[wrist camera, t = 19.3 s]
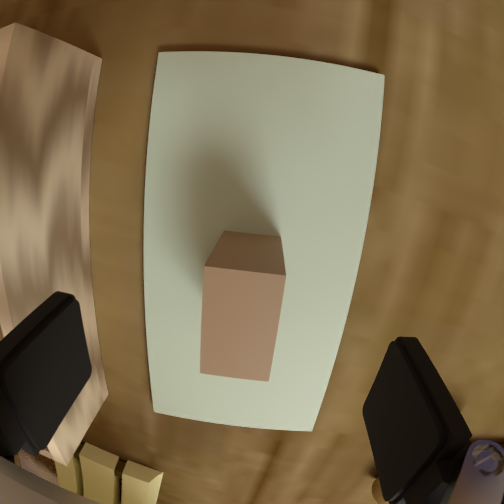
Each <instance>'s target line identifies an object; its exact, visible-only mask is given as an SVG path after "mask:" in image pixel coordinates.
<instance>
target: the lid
mask: <svg viewBox="0 0 504 504" xmlns="http://www.w3.org/2000/svg"><path fill="white" fill-rule="evenodd" d="M384 77H385V75H382V74H378V73H374V72H369V71H365V70H361V69H356V68H352V67H347V66H342V65H337V64H331V63H326V62H320V61H314V60H307V59H300V58H293V57H285V56H276V55H266V54H254V53H239V52H215V51H179V52H159V55H158V61H157V68H156V75H155V82H154V90H153V98H152V106H151V115H150V125H149V136H148V148H147V162H146V178H145V200H144V297H145V319H146V336H147V350H148V362H149V372H150V382H151V391H152V400H153V408H154V412H157V413H162V414H166V415H171V416H176V417H182V418H187V419H193V420H199V421H205V422H212V423H219V424H226V425H234V426H243V427H252V428H263V429H276V430H293V431H312V429H313V427H314V424H315V421H316V418H317V415H318V412H319V409H320V406H321V403H322V400H323V397H324V394H325V391H326V388H327V385H328V382H329V378H330V375H331V372H332V368H333V365H334V362H335V358H336V355H337V351H338V348H339V344H340V341H341V337H342V333H343V329H344V326H345V322H346V318H347V314H348V310H349V306H350V302H351V298H352V294H353V289H354V285H355V281H356V276H357V272H358V267H359V262H360V257H361V252H362V248H363V242H364V237H365V232H366V226H367V221H368V215H369V209H370V203H371V197H372V191H373V184H374V177H375V170H376V162H377V154H378V146H379V137H380V128H381V117H382V106H383V93H384Z"/></svg>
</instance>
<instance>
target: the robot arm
mask: <svg viewBox="0 0 504 504" xmlns="http://www.w3.org/2000/svg"><path fill="white" fill-rule="evenodd" d="M91 373H92V365H91V361H90V357H89V352H88V347H87V342H86V337H85V332H84V327H83V321H82V315H81V309H80V304H79V301H78V300H76V298H75V296H74V295H73V294H69V293H65V292H61V291H56V292H54V293H53V294H52V295H51V296H50V297H49V298H47V299H46V300H45V301H44V302H43V303H42V304H40V305H39V306H38V307H37V308H36V309H35V310H34V311H32V312H31V313H30V314H29V315H28V316H27V317H26V318H25V319H23V320H22V321H21V322H20V323H19V324H18V325H17V326H16V327H15V328H14V329H13V330H11V331H10V332H9V333H8V334H7V335H6V336H5V337H4V338H3V339H2V340H1V341H0V504H102V503H99V502H96V501H93V500H91V499H88V498H86V497H83V496H80V495H78V494H76V493H73V492H71V491H68V490H66V489H64V488H61V487H59V486H57V485H55V484H53V483H51V482H48V481H46V480H44V479H42V478H40V477H38V476H36V475H34V474H32V473H30V472H29V471H27V470H25V469H23V468H22V467H21V463H20V458H19V453H18V452H19V451H20V449H21V447H22V449H23V450H24V451H26V452H28V453H30V454H32V455H34V456H36V457H37V455H38V454H39V452H40V450H44V449H45V448H46V447H47V446H48V444H49V442H50V441H51V439H52V437H53V436H54V434H55V432H56V431H57V429H58V427H59V426H60V424H61V422H62V421H63V419H64V418H65V416H66V414H67V413H68V411H69V409H70V408H71V406H72V405H73V403H74V402H75V400H76V398H77V397H78V395H79V394H80V392H81V391H82V389H83V388H84V386H85V384H86V383H87V381H88V380H89V378H90V376H91ZM363 417H364V421H365V425H366V428H367V432H368V436H369V440H370V444H371V448H372V452H373V456H374V460H375V464H376V469H377V473H378V477H379V481H380V486H381V490H382V495H383V498H384V500H385V501H386V502H388V501H389V504H504V449H503V448H502V447H501V446H500V445H499V444H497V443H496V442H494V441H491V440H487V439H486V440H478V441H475V442H474V443H473V444H471V442H470V440H469V439H470V437H471V436H472V434H471V432H470V430H469V428H468V426H467V424H466V422H465V420H464V418H463V416H462V415H461V413H460V411H459V409H458V407H457V405H456V403H455V402H454V400H453V398H452V396H451V394H450V393H449V391H448V389H447V387H446V386H445V384H444V382H443V380H442V379H441V377H440V375H439V373H438V372H437V370H436V368H435V367H434V365H433V363H432V362H431V360H430V358H429V357H428V355H427V353H426V352H425V350H424V348H423V347H422V345H421V344H420V342H419V340H418V339H417V338H415V337H397V339H396V340H395V341H392V342H391V343H390V345H389V347H388V349H387V352H386V354H385V357H384V359H383V362H382V364H381V367H380V369H379V371H378V374H377V376H376V378H375V381H374V383H373V385H372V387H371V390H370V392H369V394H368V396H367V398H366V401H365V403H364V405H363Z"/></svg>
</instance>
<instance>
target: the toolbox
mask: <svg viewBox="0 0 504 504" xmlns="http://www.w3.org/2000/svg"><path fill="white" fill-rule="evenodd" d="M101 64H102V59H101V58H99V57H97V56H95V55H93V54H91V53H89V52H86V51H84V50H82V49H80V48H78V47H75V46H73V45H71V44H68V43H66V42H64V41H62V40H59V39H57V38H54V37H52V36H50V35H47V34H45V33H42V32H40V31H37V30H35V29H32V28H29V27H27V26H24V25H21V24H19V23H16V22H15V23H13V24H10V25H8V26H5V27H3V28H1V29H0V341H1V340H2V339H3V338H4V337H5V336H6V335H7V334H8V333H9V332H10V331H11V330H13V329H14V328H15V327H16V326H17V325H18V324H19V323H20V322H21V321H22V320H23V319H25V318H26V317H27V316H28V315H29V314H30V313H31V312H32V311H34V310H35V309H36V308H37V307H38V306H39V305H40V304H42V303H43V302H44V301H45V300H46V299H47V298H49V297H50V296H51V295H52V294H53V293H54V292H56V291H61V292H65V293H69V294H73V295H74V296H75V298H76V300H78V301H79V304H80V309H81V315H82V321H83V327H84V332H85V337H86V342H87V347H88V352H89V357H90V361H91V365H92V373H91V376H90V378H89V380H88V381H87V383H86V384H85V386H84V388H83V389H82V391H81V392H80V394H79V395H78V397H77V398H76V400H75V402H74V403H73V405H72V406H71V408H70V409H69V411H68V413H67V414H66V416H65V418H64V419H63V421H62V422H61V424H60V426H59V427H58V429H57V431H56V432H55V434H54V436H53V437H52V439H51V441H50V442H49V444H48V446H47V447H46V448H45V449H44V450H40V452H39V454H41V455H44V456H46V457H48V458H50V459H52V460H54V461H56V462H59V463H61V464H63V465H66V466H67V465H68V463H69V462H70V460H71V458H72V456H73V454H74V453H75V451H76V449H77V447H78V446H79V444H80V442H81V440H82V439H83V437H84V435H85V433H86V432H87V430H88V428H89V427H90V425H91V423H92V421H93V420H94V418H95V416H96V415H97V413H98V411H99V409H100V408H101V406H102V404H103V403H104V401H105V399H106V398H107V396H108V390H107V385H106V380H105V375H104V369H103V364H102V358H101V352H100V345H99V339H98V332H97V324H96V316H95V307H94V298H93V287H92V274H91V259H90V235H89V183H90V160H91V144H92V132H93V122H94V112H95V104H96V96H97V89H98V82H99V76H100V70H101Z"/></svg>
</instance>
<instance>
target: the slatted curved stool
mask: <svg viewBox="0 0 504 504" xmlns="http://www.w3.org/2000/svg"><path fill="white" fill-rule="evenodd" d="M54 462H55V466H56V471H57V476H58V483H59V487H61V488H64V489H66V490H68V491H71V492H73V493H76V494H78V495H80V496H83V497H86V498H88V499H91V500H93V501H96V502H99V503H102V504H119V502H120V495H119V478H122V497H121V504H156V502H157V498H158V493H159V489H160V485H161V480H162V476H163V472H161V471H157V470H154V469H152V468H149V467H146V466H143V465H140V464H137V463H135V462H132V461H129V460H127V463H126V462H123V461H120V460H119V456H117V455H114V454H112V453H109V452H107V451H105V450H102V449H100V448H98V447H96V446H93V445H91V444H89V443H87V442H86V443H85V445H84V444H82V443H80V444H79V446H78V447H77V449H76V451H75V453H74V454H73V456H72V458H71V460H70V462H69V463H68V465H67V466H66V465H63V464H61V463H59V462H56V461H54Z"/></svg>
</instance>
